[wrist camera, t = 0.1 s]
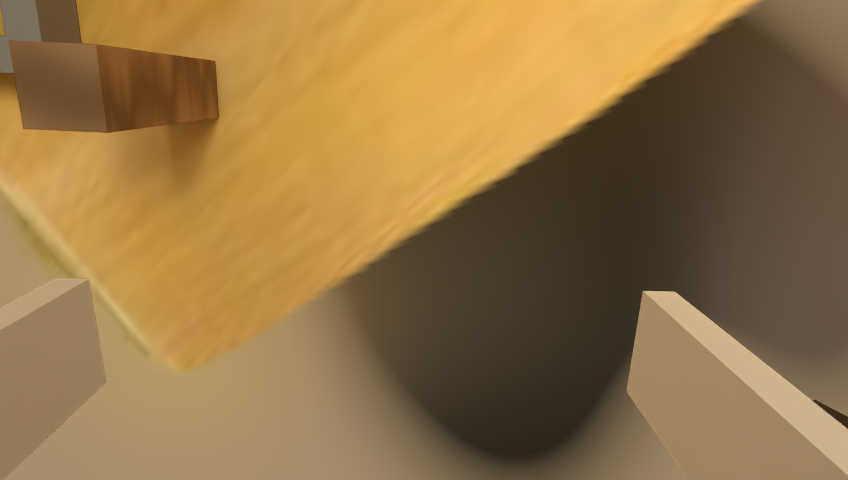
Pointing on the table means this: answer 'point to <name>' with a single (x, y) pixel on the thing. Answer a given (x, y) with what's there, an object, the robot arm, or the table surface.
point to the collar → (37, 24)
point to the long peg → (109, 87)
